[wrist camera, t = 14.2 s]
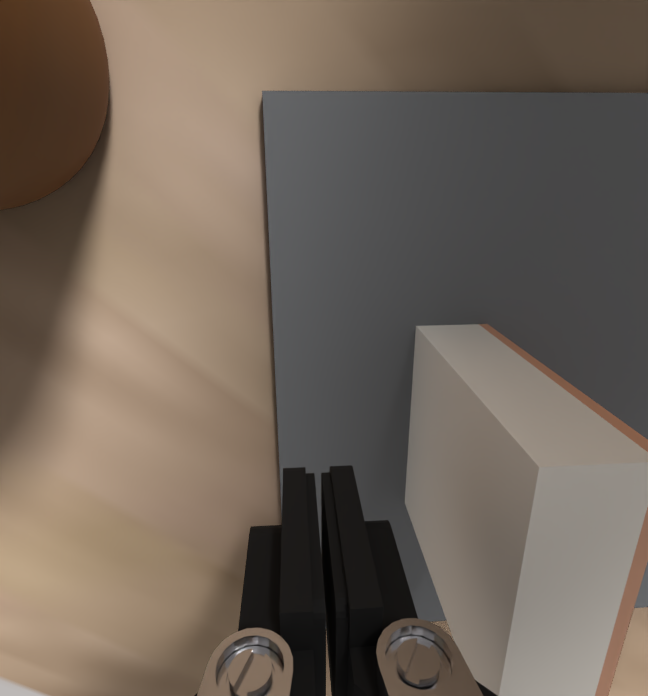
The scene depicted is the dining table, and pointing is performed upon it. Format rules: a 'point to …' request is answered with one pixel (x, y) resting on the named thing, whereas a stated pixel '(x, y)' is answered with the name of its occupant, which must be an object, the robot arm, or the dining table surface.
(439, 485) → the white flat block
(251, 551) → the robot arm
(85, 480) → the dining table surface
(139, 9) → the dining table surface
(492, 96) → the mat
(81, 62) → the mug
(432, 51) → the dining table surface
